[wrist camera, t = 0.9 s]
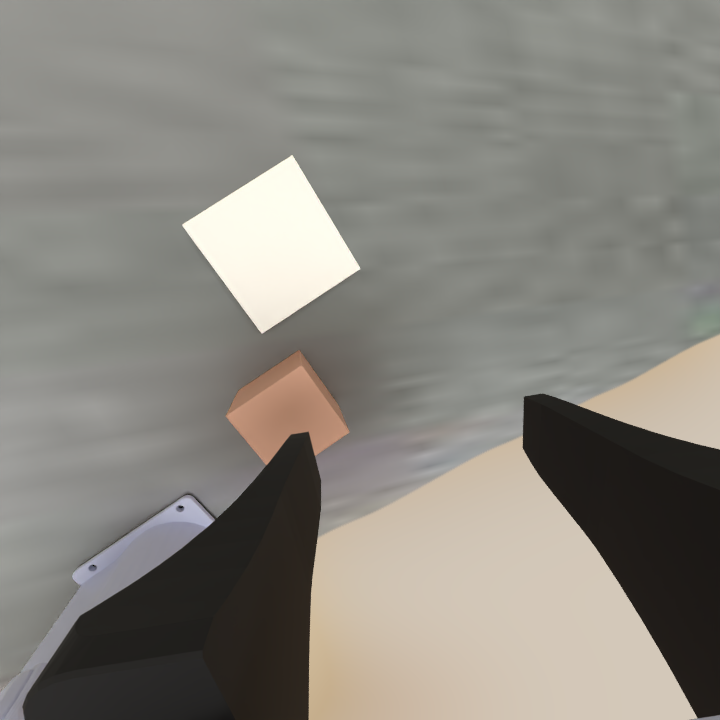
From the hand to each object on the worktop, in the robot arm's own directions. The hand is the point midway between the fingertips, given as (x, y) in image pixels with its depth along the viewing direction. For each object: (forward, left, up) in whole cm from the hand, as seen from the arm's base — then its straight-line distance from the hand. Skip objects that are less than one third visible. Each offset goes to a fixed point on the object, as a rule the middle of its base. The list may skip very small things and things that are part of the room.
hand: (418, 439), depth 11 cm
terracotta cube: (-5, 0, -14) cm, 15 cm away
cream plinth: (0, +9, -14) cm, 16 cm away
